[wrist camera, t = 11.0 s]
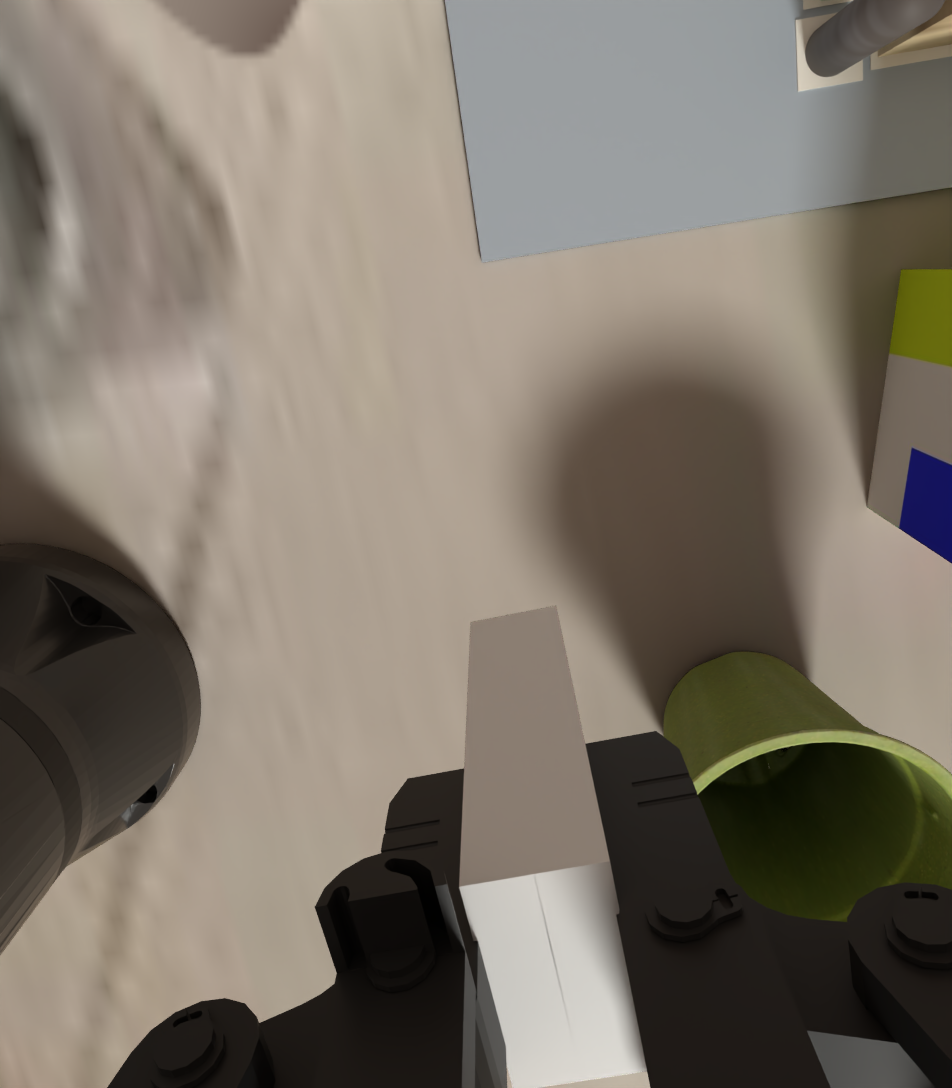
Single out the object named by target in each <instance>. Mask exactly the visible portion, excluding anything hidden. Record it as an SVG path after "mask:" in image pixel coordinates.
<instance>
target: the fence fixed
mask: <svg viewBox="0 0 952 1088" xmlns="http://www.w3.org/2000/svg"><path fill="white" fill-rule="evenodd" d="M950 44H952V0H853V1H852V2H851V3H849V4H848V5H847V6H846V7H844V8H843V9H842V10H840V11H839V12H838V13H837V14H835V15H834V16H833V17H832V18H830V19H829V20H828V21H826V22H825V23H824V24H823V25H821V26H820V27H819V28H818V29H816V30H815V31H814V32H813V34H812V35H811V36H810V38H809V40H808V42H807V45H806V50H805V57H806V62H807V65H808V67H809V68H810V70H811V71H812V72H813V73H815V74H816V75H818V76H821V77H832V76H835V75H837V74H839V73H841V72H843V71H844V70H846V69H848V68H849V67H851V66H853V65H854V64H856V63H858V62H859V61H861V60H863V59H864V58H866V57H868V56H869V55H871V54H873V53H874V52H876V51H878V57H881V56H887V55H892V54H898V53H904V52H910V51H916V50H921V49H927V48H933V47H939V46H944V45H950Z"/></svg>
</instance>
